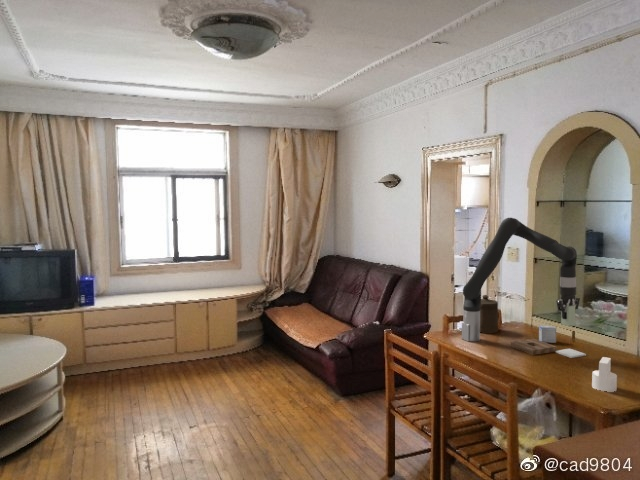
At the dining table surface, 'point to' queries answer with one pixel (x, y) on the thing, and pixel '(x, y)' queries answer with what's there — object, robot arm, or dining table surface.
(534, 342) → the pocket board
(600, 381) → the cylinder with rectangular tab
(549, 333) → the medicine box
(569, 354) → the tile
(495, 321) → the wooden container
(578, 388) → the dining table surface
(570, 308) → the green block
